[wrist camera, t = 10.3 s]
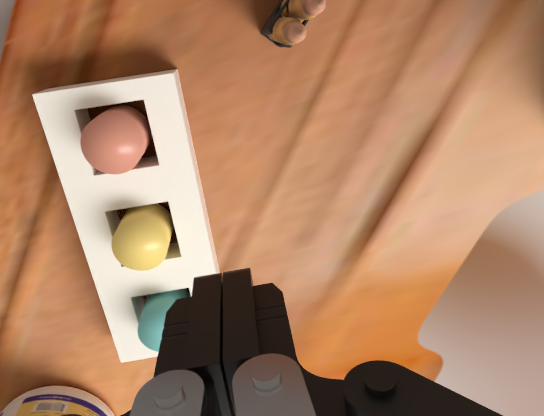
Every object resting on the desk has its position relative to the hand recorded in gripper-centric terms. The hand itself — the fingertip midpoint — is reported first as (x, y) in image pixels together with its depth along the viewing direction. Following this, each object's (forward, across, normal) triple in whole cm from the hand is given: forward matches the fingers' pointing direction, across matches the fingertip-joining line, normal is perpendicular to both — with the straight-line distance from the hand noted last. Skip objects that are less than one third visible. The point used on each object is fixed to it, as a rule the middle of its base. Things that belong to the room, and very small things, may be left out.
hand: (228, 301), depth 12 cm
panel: (+27, +8, +8) cm, 29 cm away
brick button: (+26, +8, 0) cm, 27 cm away
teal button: (+26, +8, +16) cm, 32 cm away
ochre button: (+26, +8, +8) cm, 28 cm away
